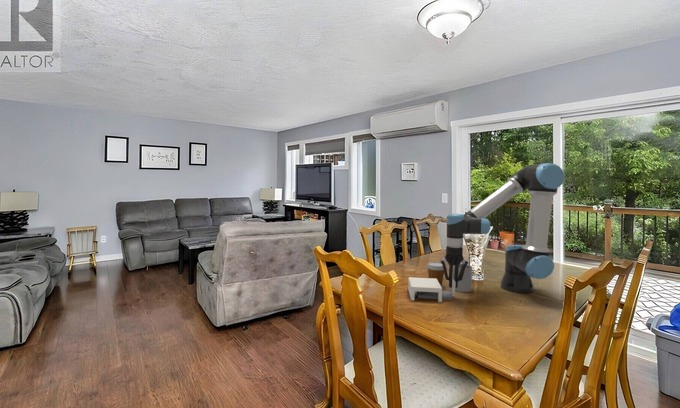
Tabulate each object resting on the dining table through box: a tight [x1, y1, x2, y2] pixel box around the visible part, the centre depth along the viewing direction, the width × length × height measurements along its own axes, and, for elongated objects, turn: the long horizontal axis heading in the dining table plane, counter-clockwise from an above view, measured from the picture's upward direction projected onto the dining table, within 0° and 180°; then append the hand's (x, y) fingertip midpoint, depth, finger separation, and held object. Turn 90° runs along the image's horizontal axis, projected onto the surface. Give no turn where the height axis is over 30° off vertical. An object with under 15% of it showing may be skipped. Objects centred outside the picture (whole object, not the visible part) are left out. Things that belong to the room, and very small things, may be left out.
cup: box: [452, 263, 473, 293], centre depth 166 cm, size 9×9×12 cm
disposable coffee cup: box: [426, 261, 445, 288], centre depth 170 cm, size 10×10×12 cm
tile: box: [417, 290, 454, 301], centre depth 156 cm, size 16×8×2 cm, turn 83°
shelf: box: [407, 276, 443, 303], centre depth 156 cm, size 14×15×6 cm
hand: (452, 294), depth 154 cm, fingers closed
